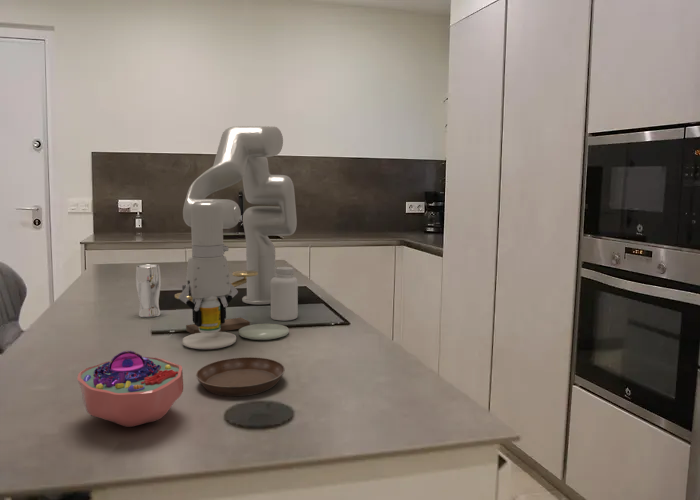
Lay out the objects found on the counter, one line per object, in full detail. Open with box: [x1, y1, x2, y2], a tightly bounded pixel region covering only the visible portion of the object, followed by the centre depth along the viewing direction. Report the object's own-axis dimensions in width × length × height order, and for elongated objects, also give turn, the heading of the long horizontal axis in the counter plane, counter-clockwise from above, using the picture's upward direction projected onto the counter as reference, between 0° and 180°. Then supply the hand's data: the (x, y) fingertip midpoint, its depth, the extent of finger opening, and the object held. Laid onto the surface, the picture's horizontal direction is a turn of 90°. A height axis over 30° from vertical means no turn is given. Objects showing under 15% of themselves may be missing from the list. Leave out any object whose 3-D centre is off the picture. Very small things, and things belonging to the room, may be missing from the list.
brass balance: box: [174, 270, 258, 335], centre depth 163 cm, size 23×7×15 cm, turn 125°
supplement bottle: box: [199, 296, 221, 333], centre depth 149 cm, size 5×5×10 cm
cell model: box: [76, 350, 184, 428], centre depth 103 cm, size 17×20×11 cm
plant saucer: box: [195, 356, 286, 397], centre depth 122 cm, size 18×18×3 cm
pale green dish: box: [238, 323, 290, 341], centre depth 158 cm, size 13×13×1 cm
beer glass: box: [135, 263, 162, 319], centre depth 178 cm, size 7×7×15 cm
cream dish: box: [182, 331, 237, 351], centre depth 150 cm, size 13×13×1 cm
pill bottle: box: [270, 266, 299, 322], centre depth 176 cm, size 8×8×15 cm
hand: (209, 323), depth 149 cm, fingers closed on supplement bottle, 5 cm apart
